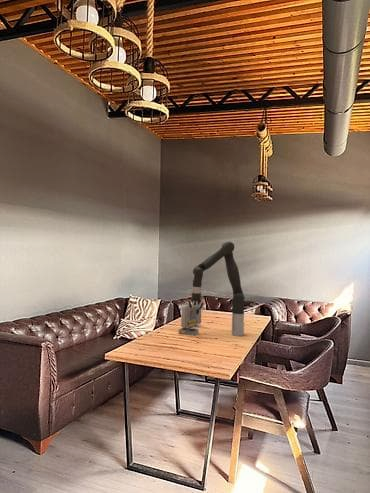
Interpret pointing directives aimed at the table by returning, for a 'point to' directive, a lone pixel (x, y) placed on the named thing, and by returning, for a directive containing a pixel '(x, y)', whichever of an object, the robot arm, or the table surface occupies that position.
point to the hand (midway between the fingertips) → (195, 313)
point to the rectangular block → (194, 312)
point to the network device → (190, 317)
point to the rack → (188, 331)
